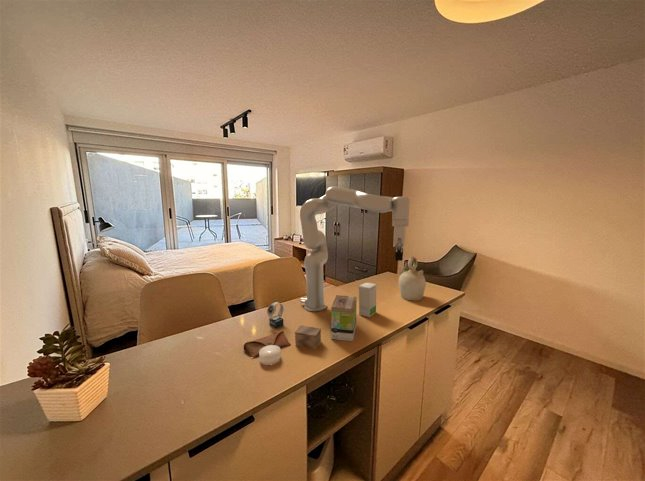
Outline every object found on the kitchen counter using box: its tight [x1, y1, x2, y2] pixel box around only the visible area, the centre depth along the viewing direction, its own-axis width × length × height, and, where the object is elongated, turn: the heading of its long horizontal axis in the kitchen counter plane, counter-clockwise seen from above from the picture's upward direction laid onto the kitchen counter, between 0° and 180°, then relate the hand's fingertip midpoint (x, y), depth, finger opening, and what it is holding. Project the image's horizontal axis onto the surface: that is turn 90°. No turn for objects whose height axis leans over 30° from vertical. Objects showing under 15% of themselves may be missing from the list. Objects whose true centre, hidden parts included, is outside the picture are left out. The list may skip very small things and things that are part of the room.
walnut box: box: [294, 325, 322, 350], centre depth 109 cm, size 9×6×6 cm
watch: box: [266, 301, 285, 329], centre depth 125 cm, size 6×8×11 cm
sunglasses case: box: [243, 330, 292, 359], centre depth 107 cm, size 18×7×7 cm
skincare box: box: [358, 282, 377, 318], centre depth 135 cm, size 8×7×16 cm
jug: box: [398, 256, 427, 302], centre depth 156 cm, size 15×16×25 cm
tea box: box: [330, 294, 358, 342], centre depth 117 cm, size 15×10×15 cm
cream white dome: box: [258, 345, 282, 366], centre depth 99 cm, size 8×8×4 cm
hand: (399, 258), depth 126 cm, fingers open, 9 cm apart
